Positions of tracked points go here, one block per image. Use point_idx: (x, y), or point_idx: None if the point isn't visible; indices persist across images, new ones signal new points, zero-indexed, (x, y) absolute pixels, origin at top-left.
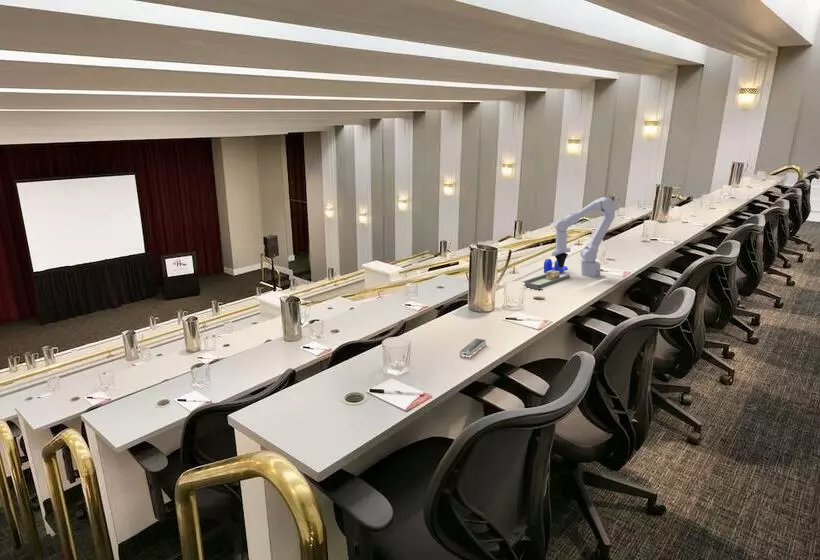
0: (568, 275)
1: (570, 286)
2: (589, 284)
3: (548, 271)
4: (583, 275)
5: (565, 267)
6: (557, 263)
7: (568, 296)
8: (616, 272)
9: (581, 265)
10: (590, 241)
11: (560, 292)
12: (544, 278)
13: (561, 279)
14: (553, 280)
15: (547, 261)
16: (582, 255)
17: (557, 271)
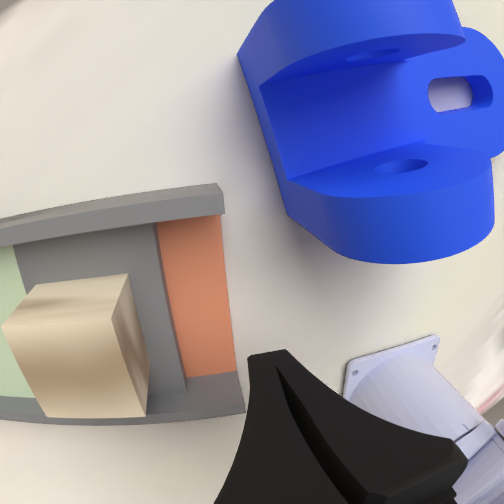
0: (224, 414)
1: (114, 456)
2: None
3: (29, 338)
4: (356, 404)
5: (498, 135)
6: (371, 247)
7: (21, 493)
8: (494, 378)
9: (416, 428)
10: None
11: (12, 461)
12: (34, 256)
13: None
14: (15, 420)
15: (348, 29)
16: (472, 488)
17: (116, 410)
